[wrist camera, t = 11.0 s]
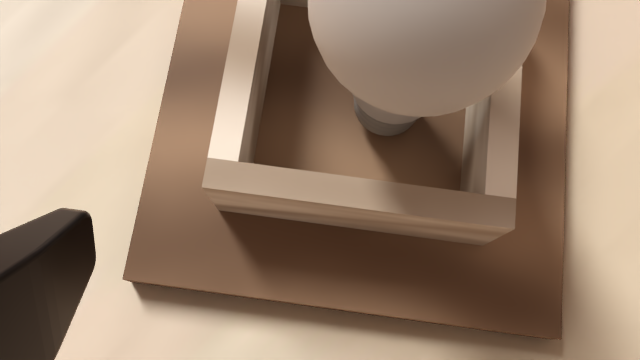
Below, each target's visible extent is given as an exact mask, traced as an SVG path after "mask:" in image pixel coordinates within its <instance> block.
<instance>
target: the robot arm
mask: <svg viewBox="0 0 640 360" xmlns="http://www.w3.org/2000/svg"><path fill="white" fill-rule="evenodd" d="M95 261H96V252H95V243H94V234H93V225H92V219H91V216H90V214H89V213H88V212H86V211H82V210H75V209H68V208H60V209H57V210H55V211H53V212H50V213H48V214H46V215H43V216H41V217H39V218H37V219H34V220H32V221H30V222H27V223H25V224H23V225H20V226H18V227H16V228H14V229H11V230H9V231H7V232H4V233H2V234H0V360H54V359H55V357H56V355H57V353H58V351H59V349H60V347H61V345H62V342H63V340H64V338H65V335H66V333H67V331H68V328H69V326H70V324H71V321H72V319H73V317H74V314H75V312H76V310H77V307H78V305H79V303H80V300H81V298H82V296H83V293H84V291H85V289H86V286H87V284H88V282H89V279H90V277H91V275H92V272H93V270H94V266H95Z"/></svg>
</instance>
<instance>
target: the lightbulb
mask: <svg viewBox="0 0 640 360" xmlns="http://www.w3.org/2000/svg"><path fill="white" fill-rule="evenodd" d="M545 11H546V0H308V19H309V23H310V27H311V31H312V34H313V38H314V41H315V43H316V45H317V47H318V50H319V52H320V54H321V56H322V58H323V60H324V62H325V64H326V66H327V67H328V68H329V70H330V71H331V72H332V74H333V75H334V76H335V77H336V79H337V80H338V81H339V82H340V83H341V84H342V85H343V86H344V87H345V88H347V89H348V90H349V91H350V92H351V93H352V95H353V97H354V110H355V113H356V116H357V118H358V120H359V121H360V123H361V124H362V125H363V126H364V127H365V128H366V129H367V130H369V131H371V132H372V133H375V134H378V135H382V136H393V135H398V134H400V133H403V132H405V131H406V130H407V129H409V128H410V127H411V126H412V125H413V124H414V123H415V121H416V120H417V119H419V118H420V117H428V116H440V115H444V114H449V113H453V112H457V111H459V110H462V109H464V108H466V107H469V106H471V105H473V104H475V103H477V102H479V101H481V100H483V99H485V98H487V97H488V96H489V95H491V94H492V93H494V92H495V91H497V90H498V89H499V88H501V87H502V86H504V84H505V83H506V82H507V81H508V80H509V79H510V78H511V77H512V76H513V75H514V73H515V72H516V71H517V70H518V69H519V68H520V66H521V65H522V64H523V63H524V61H525V60H526V58H527V56H528V55H529V53H530V51H531V49H532V48H533V46H534V44H535V42H536V39H537V37H538V34H539V31H540V28H541V24H542V21H543V18H544V14H545Z"/></svg>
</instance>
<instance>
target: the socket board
mask: <svg viewBox="0 0 640 360" xmlns="http://www.w3.org/2000/svg"><path fill="white" fill-rule="evenodd" d="M568 26H569V0H546V11H545V14H544V18H543V21H542V24H541V28H540V31H539V34H538V37H537V39H536V42H535V44H534V46H533V48H532V49H531V51H530V53H529V55H528V56H527V58H526V60H525V61H524V63H523V64H522V65H521V66H520V68H519V69H518V70H517V71H516V72H515V73H514V75H513V76H512V77H511V78H510V79H509V80H508V81H507V82H506V83H505V84H504V86H502V87H501V88H499V89H498V90H497V91H495V92H494V93H492V94H491V95H489V96H488V97H487V98H485V99H483V100H481V101H479V102H477V103H475V104H473V105H471V106H469V107H466V108H464V109H462V110H459V111H457V112H453V113H449V114H444V115H440V116H428V117H420V118H419V119H417V120H416V121H415V123H414V124H413V125H412V126H411V127H410V128H409V129H407V130H406V131H405V132H403V133H400V134H398V135H393V136H382V135H378V134H375V133H372V132H371V131H369V130H367V129H366V128H365V127H364V126H363V125H362V124H361V123H360V121H359V120H358V118H357V116H356V113H355V110H354V97H353V95H352V93H351V92H350V91H349V90H348V89H347V88H345V87H344V86H343V85H342V84H341V83H340V82H339V81H338V80H337V79H336V77H335V76H334V75H333V74H332V72H331V71H330V70H329V68H328V67H327V66H326V64H325V62H324V60H323V58H322V56H321V54H320V52H319V50H318V47H317V45H316V43H315V41H314V38H313V34H312V31H311V27H310V23H309V19H308V0H184V3H183V7H182V12H181V16H180V21H179V25H178V30H177V34H176V39H175V44H174V48H173V53H172V57H171V62H170V66H169V71H168V75H167V80H166V84H165V89H164V93H163V98H162V102H161V107H160V112H159V116H158V121H157V125H156V130H155V134H154V139H153V143H152V148H151V152H150V157H149V161H148V166H147V170H146V175H145V179H144V184H143V189H142V193H141V198H140V202H139V207H138V211H137V216H136V220H135V225H134V229H133V234H132V238H131V243H130V247H129V252H128V257H127V261H126V266H125V270H124V275H123V280H127V281H130V282H137V283H144V284H151V285H158V286H166V287H173V288H180V289H188V290H195V291H202V292H209V293H217V294H224V295H231V296H239V297H246V298H253V299H260V300H268V301H275V302H282V303H290V304H297V305H304V306H312V307H319V308H326V309H333V310H341V311H348V312H355V313H363V314H370V315H377V316H384V317H392V318H399V319H406V320H414V321H421V322H428V323H435V324H443V325H450V326H457V327H465V328H472V329H479V330H486V331H494V332H501V333H508V334H516V335H523V336H530V337H537V338H545V339H561V328H562V285H563V242H564V199H565V156H566V112H567V69H568Z"/></svg>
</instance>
